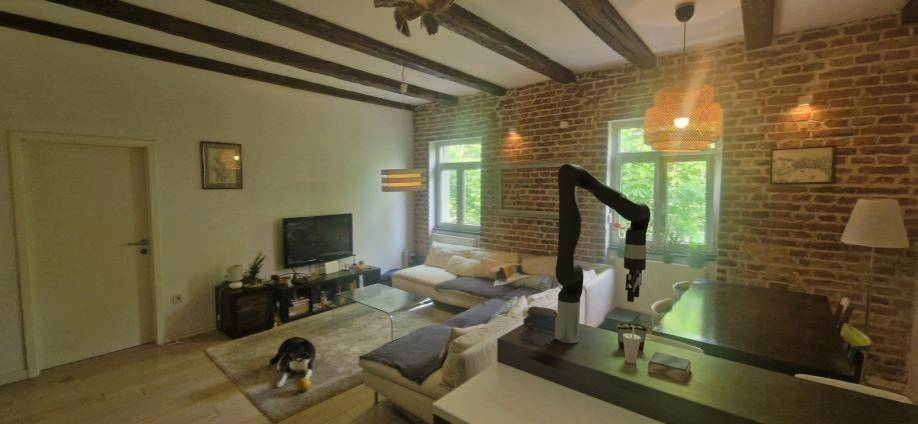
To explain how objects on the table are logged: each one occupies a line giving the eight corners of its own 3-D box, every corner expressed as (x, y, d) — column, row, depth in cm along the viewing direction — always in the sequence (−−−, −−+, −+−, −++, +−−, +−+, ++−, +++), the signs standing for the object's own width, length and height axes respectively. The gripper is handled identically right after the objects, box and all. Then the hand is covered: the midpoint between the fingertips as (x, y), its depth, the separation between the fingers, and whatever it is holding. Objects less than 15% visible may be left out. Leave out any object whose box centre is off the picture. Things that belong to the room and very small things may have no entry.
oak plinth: (647, 371, 138) (648, 360, 138) (653, 361, 147) (654, 351, 147) (686, 382, 131) (687, 370, 131) (690, 370, 140) (691, 359, 140)
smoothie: (632, 366, 142) (633, 328, 142) (617, 359, 148) (619, 323, 148) (643, 363, 145) (645, 326, 145) (629, 356, 151) (630, 321, 151)
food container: (641, 345, 163) (642, 322, 162) (647, 351, 157) (648, 327, 156) (611, 344, 164) (612, 320, 164) (615, 349, 158) (616, 325, 158)
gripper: (629, 253, 153) (627, 294, 154) (619, 257, 142) (617, 301, 142) (649, 255, 149) (648, 297, 149) (641, 259, 137) (639, 305, 138)
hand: (633, 299), depth 146 cm, fingers open, 8 cm apart
